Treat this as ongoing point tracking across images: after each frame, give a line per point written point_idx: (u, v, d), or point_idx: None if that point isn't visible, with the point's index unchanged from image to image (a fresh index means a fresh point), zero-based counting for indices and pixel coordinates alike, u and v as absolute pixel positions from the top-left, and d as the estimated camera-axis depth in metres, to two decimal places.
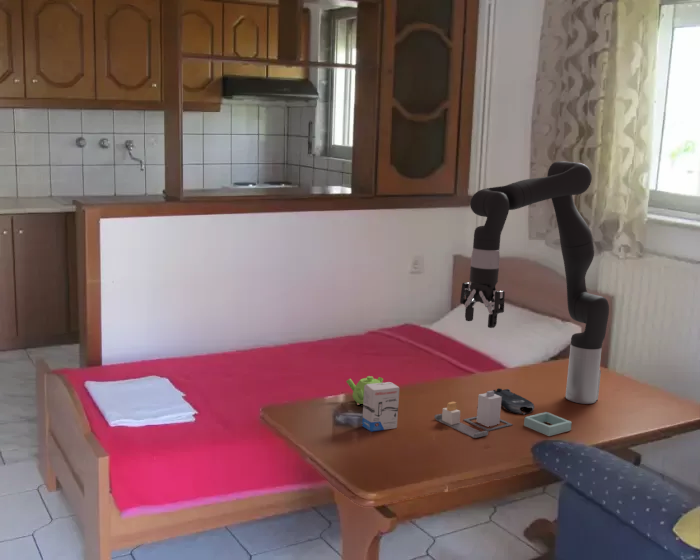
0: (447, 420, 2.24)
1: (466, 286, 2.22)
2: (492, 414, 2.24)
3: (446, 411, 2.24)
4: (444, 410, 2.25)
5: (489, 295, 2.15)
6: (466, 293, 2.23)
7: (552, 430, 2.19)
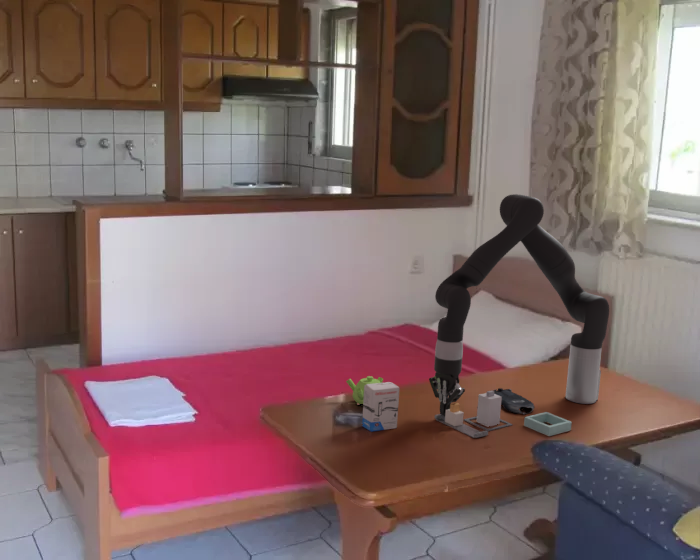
0: (451, 421, 2.23)
1: (433, 379, 2.29)
2: (492, 414, 2.24)
3: (449, 412, 2.23)
4: (447, 411, 2.24)
5: (450, 389, 2.23)
6: (436, 386, 2.29)
7: (552, 430, 2.19)
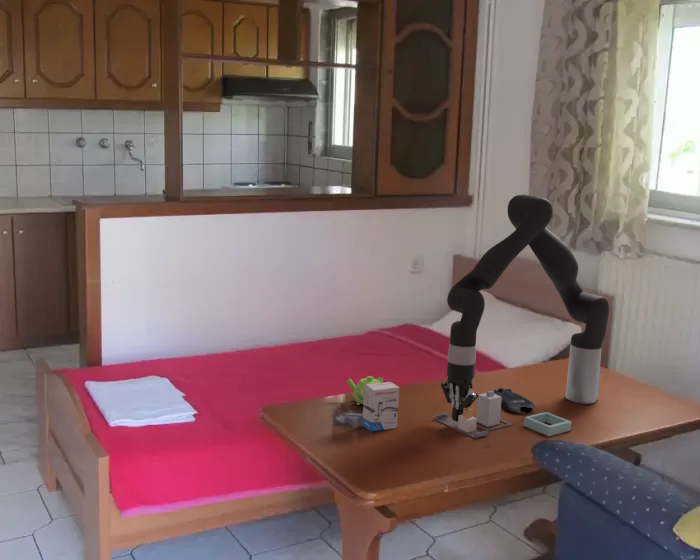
0: (463, 427, 2.19)
1: (445, 384, 2.25)
2: (492, 414, 2.24)
3: (462, 418, 2.19)
4: (460, 417, 2.19)
5: (463, 394, 2.19)
6: (449, 391, 2.24)
7: (552, 430, 2.19)
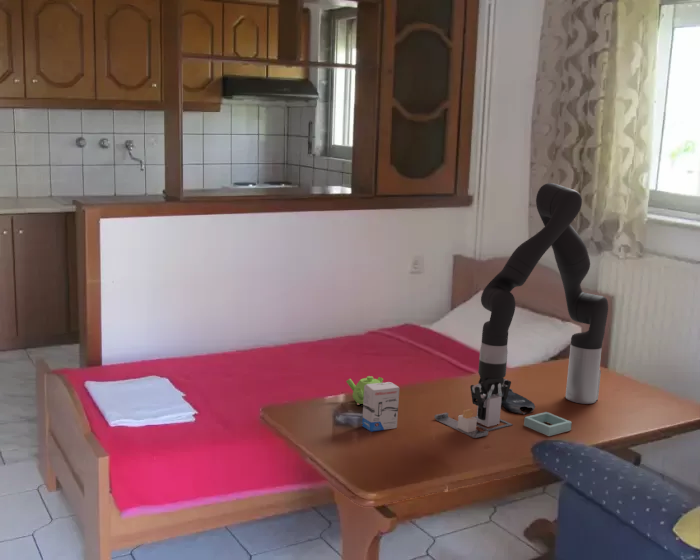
0: (464, 427, 2.19)
1: None
2: (491, 414, 2.24)
3: (462, 418, 2.19)
4: (460, 417, 2.19)
5: None
6: (502, 389, 2.28)
7: (552, 430, 2.19)
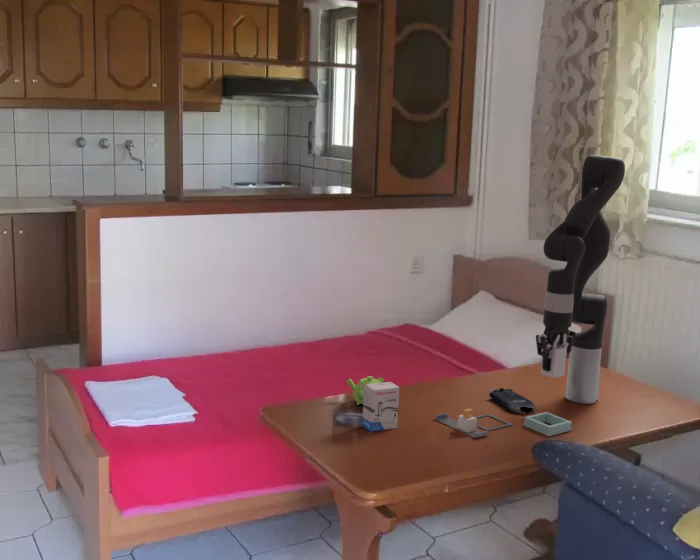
0: (464, 427, 2.19)
1: None
2: (557, 365, 2.19)
3: (462, 418, 2.19)
4: (460, 417, 2.19)
5: None
6: (566, 340, 2.23)
7: (552, 430, 2.19)
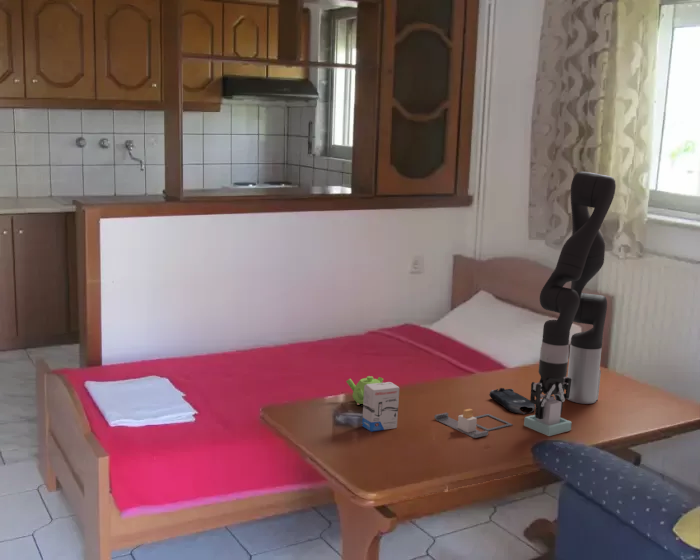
0: (464, 427, 2.19)
1: None
2: (552, 420, 2.22)
3: (462, 418, 2.19)
4: (460, 417, 2.19)
5: None
6: (563, 387, 2.26)
7: (552, 430, 2.19)
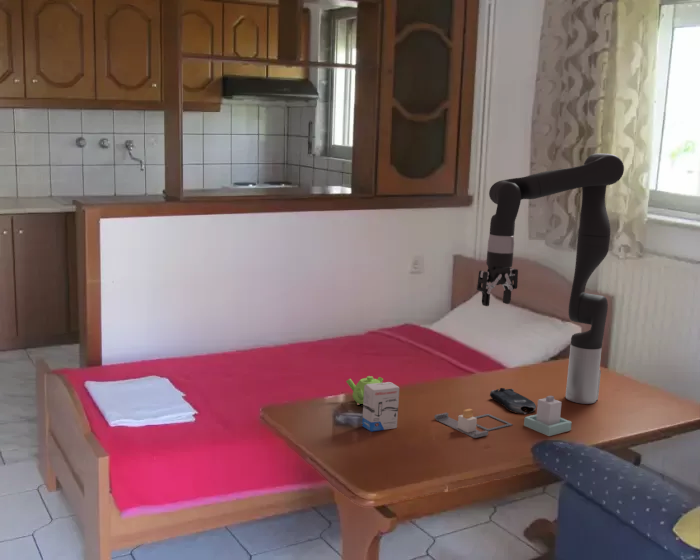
0: (464, 427, 2.19)
1: None
2: (552, 420, 2.22)
3: (462, 418, 2.19)
4: (460, 417, 2.19)
5: None
6: (511, 278, 2.41)
7: (552, 430, 2.19)
